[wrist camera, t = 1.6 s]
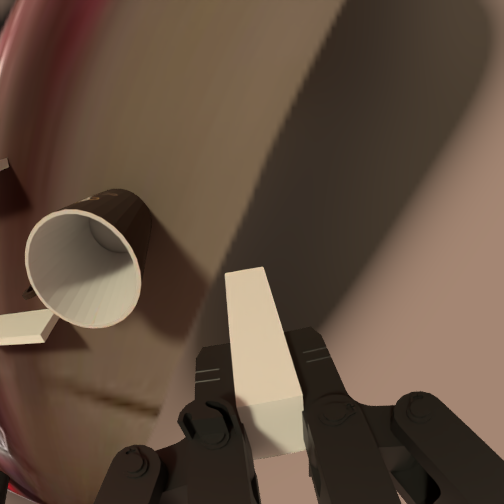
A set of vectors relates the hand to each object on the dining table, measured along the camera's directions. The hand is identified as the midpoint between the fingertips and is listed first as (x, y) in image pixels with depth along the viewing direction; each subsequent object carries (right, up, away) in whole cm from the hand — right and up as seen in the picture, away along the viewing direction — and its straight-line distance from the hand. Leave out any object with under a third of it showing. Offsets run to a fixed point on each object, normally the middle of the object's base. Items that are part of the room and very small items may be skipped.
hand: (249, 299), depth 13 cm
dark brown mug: (-13, +5, +14) cm, 20 cm away
